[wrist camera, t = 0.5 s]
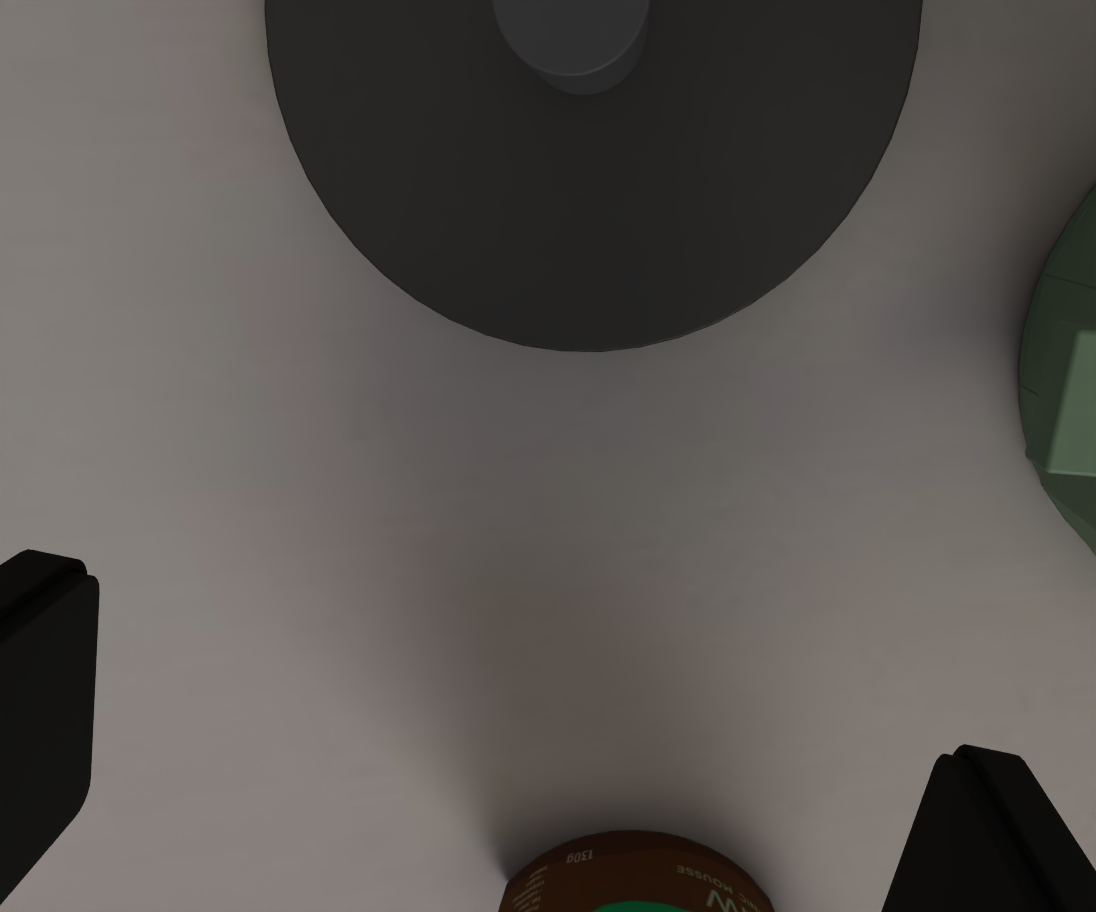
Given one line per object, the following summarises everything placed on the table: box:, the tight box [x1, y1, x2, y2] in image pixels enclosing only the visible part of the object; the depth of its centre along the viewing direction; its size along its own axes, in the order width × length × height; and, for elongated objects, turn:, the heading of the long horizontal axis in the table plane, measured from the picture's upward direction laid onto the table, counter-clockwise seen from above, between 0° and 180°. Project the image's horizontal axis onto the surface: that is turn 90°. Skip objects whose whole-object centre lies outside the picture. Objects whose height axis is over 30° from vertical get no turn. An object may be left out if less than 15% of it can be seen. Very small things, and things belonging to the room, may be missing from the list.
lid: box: [265, 0, 923, 352], centre depth 20 cm, size 15×15×6 cm
